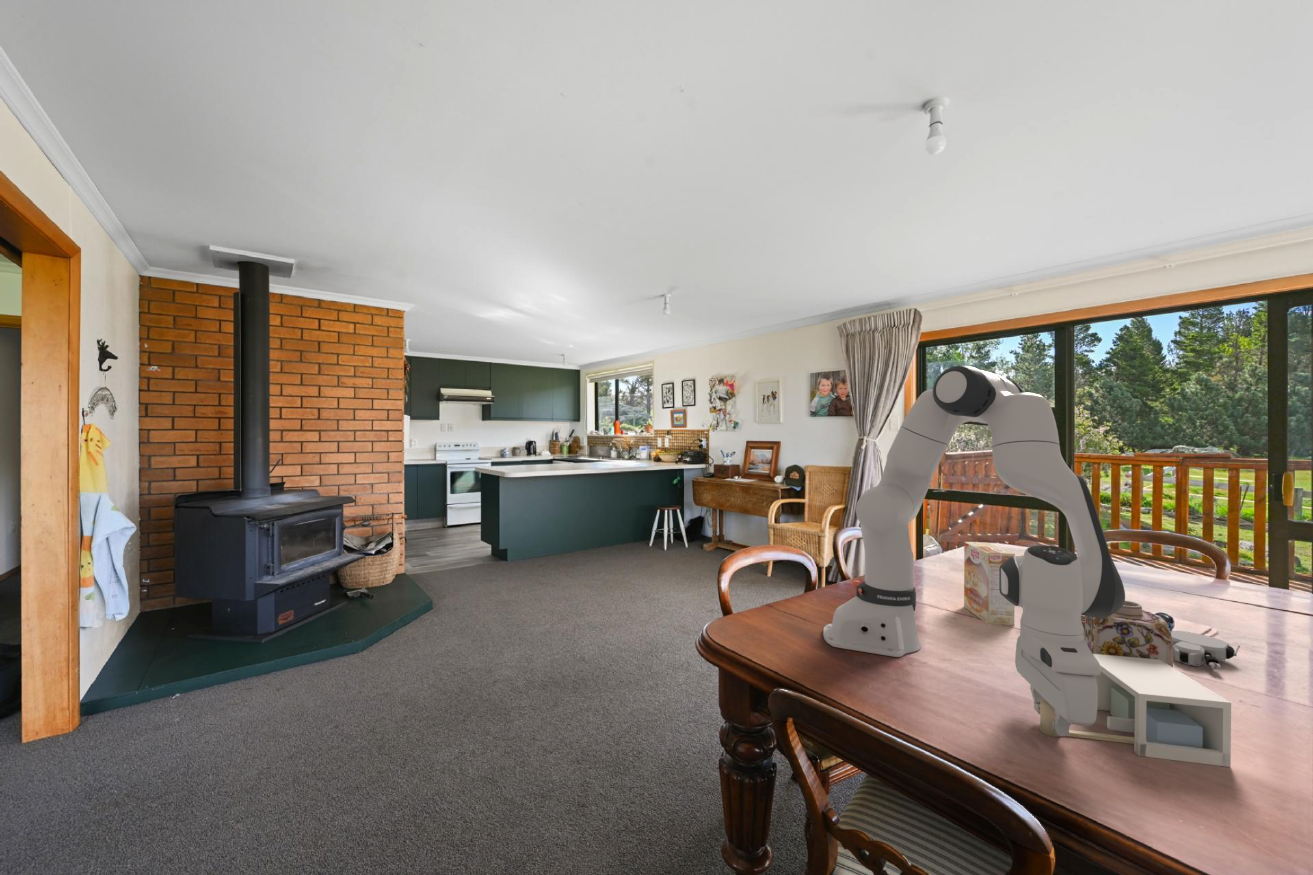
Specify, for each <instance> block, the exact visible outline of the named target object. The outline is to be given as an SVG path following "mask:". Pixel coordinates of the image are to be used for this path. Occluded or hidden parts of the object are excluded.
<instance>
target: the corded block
mask: <svg viewBox="0 0 1313 875" xmlns="http://www.w3.org/2000/svg"><path fill="white" fill-rule="evenodd" d="M1039 716H1040V717H1039V719H1040V721H1039V729H1040V730H1039V731H1040V732H1041V733H1042V734H1043V735H1046V736H1048V737H1053V738H1059V737H1061V736H1059V735H1057V734H1056V732H1055V731H1054V730H1053V728H1052V727H1053V724H1052V721H1053V720H1056V716H1057V715H1056V714H1055V709H1054V708H1053V707H1052V706H1051V705H1050V704H1049V703H1048V702H1047V701H1046V700H1041V701H1040V714H1039ZM1068 737H1072V738H1073V737H1074V738H1083V739H1088V740H1089V739H1090V740H1097V741H1098V740H1099V741H1106V742H1115V743H1122V744H1123V743H1124V744H1133V745H1134V742H1135V736H1133V737H1132V736H1125V735H1118V734H1117V735H1116V734H1109V733H1108V734H1107V733H1100V732H1099V733H1098V732H1090V731H1081V730H1076V729H1075V730H1071V729H1069V736H1068ZM1146 742H1152V743H1160V744H1169V745H1177V746H1186V747H1195V748H1203V727H1202V726H1201V725H1199V724H1198V723H1196V722H1195V721H1194V720H1192V719H1191V718H1189V717H1188V716H1186V715H1185V714H1184V713H1182V712H1181V711H1176V710H1167V709H1157V708H1148V707H1146Z"/></svg>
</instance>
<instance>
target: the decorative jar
mask: <svg viewBox="0 0 1313 875" xmlns="http://www.w3.org/2000/svg"><path fill="white" fill-rule="evenodd" d="M1168 629H1169V626H1168V623H1167V621H1166V620H1165V619H1164V618H1163V617H1162V616H1160V615H1157V614H1154V613H1152V612H1150V611H1146V610H1145V609H1143V607H1142V604H1140V603H1138V602H1135V601H1129V600H1125V602H1124V605H1123V606H1122V607H1121V608H1120V609H1119V610H1118V611H1116V612H1115V613H1114V614H1112V615H1110V616H1108V617H1106V618H1104V619H1101V618H1096V617H1090V616H1084V641H1086V643H1087V645H1088V647H1089V649H1090V651H1091V652H1092V654H1100V655H1112V656H1124V657H1135V658H1147V659H1159V660H1161V661H1163V662H1164V663H1166V664H1168V665H1169V666H1171V667H1173V668H1174V657H1173V640H1172V637H1171V633H1170V632H1171V631H1170V629H1169V630H1168Z"/></svg>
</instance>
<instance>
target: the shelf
mask: <svg viewBox="0 0 1313 875" xmlns="http://www.w3.org/2000/svg"><path fill="white" fill-rule="evenodd" d="M1093 655H1094V657H1095V658H1096V659H1097V661H1098V662H1099V664H1100V667H1101V672H1100V675H1099V676H1094V677H1095V679H1096V682H1097V686H1098V708H1097V711H1099V710H1100V711H1107V712H1111V687H1119V688H1124V689H1125V690H1127V691H1128V692H1129V693H1131V694H1132V695H1133V696H1135V719H1130V718H1121V717H1115V716H1109V715H1107V718H1106V728H1107V729H1108V730H1109V731H1115V732H1116V731H1118V732H1124V733H1125V732H1127V733H1134V737H1135V742H1134V744H1133V745H1134V750H1133V751H1134V753H1135V754H1136V755H1137V756H1139V757H1146V758H1153V759H1161V760H1170V761H1176V762H1177V761H1178V762H1185V763H1193V764H1202V765H1211V766H1219V767H1228V768H1231V764H1232V763H1231V761H1232V760H1231V757H1232V755H1231V754H1232V752H1231V751H1232V744H1231V743H1232V702H1231V701H1229V700H1227V699H1225V698H1224V697H1222V696H1221V695H1220V694H1218V693H1216V692H1214V691H1213V690H1211V689H1209V688H1207V687H1206V686H1205V685H1203V684H1201V683H1199V682H1198V681H1196V680H1194V679H1192V678H1191V677H1189V676H1188V675H1186V674H1184V673H1183V672H1181V671H1179V670H1178V669H1177V668H1174V666H1173V667H1171V666H1169V665H1168V664H1166V663H1164V662H1163V661H1161V660H1159V659H1147V658H1135V657H1124V656H1112V655H1100V654H1093ZM1146 701H1156V702H1166V703H1168V704H1169V710H1176V711H1181V712H1182V713H1184V714H1185V715H1186V716H1188V717H1189V718H1191V719H1192V720H1194V721H1195V722H1196V723H1198V724H1199V725H1201V726H1202V727H1203V748H1195V747H1186V746H1177V745H1169V744H1160V743H1152V742H1146Z"/></svg>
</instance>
